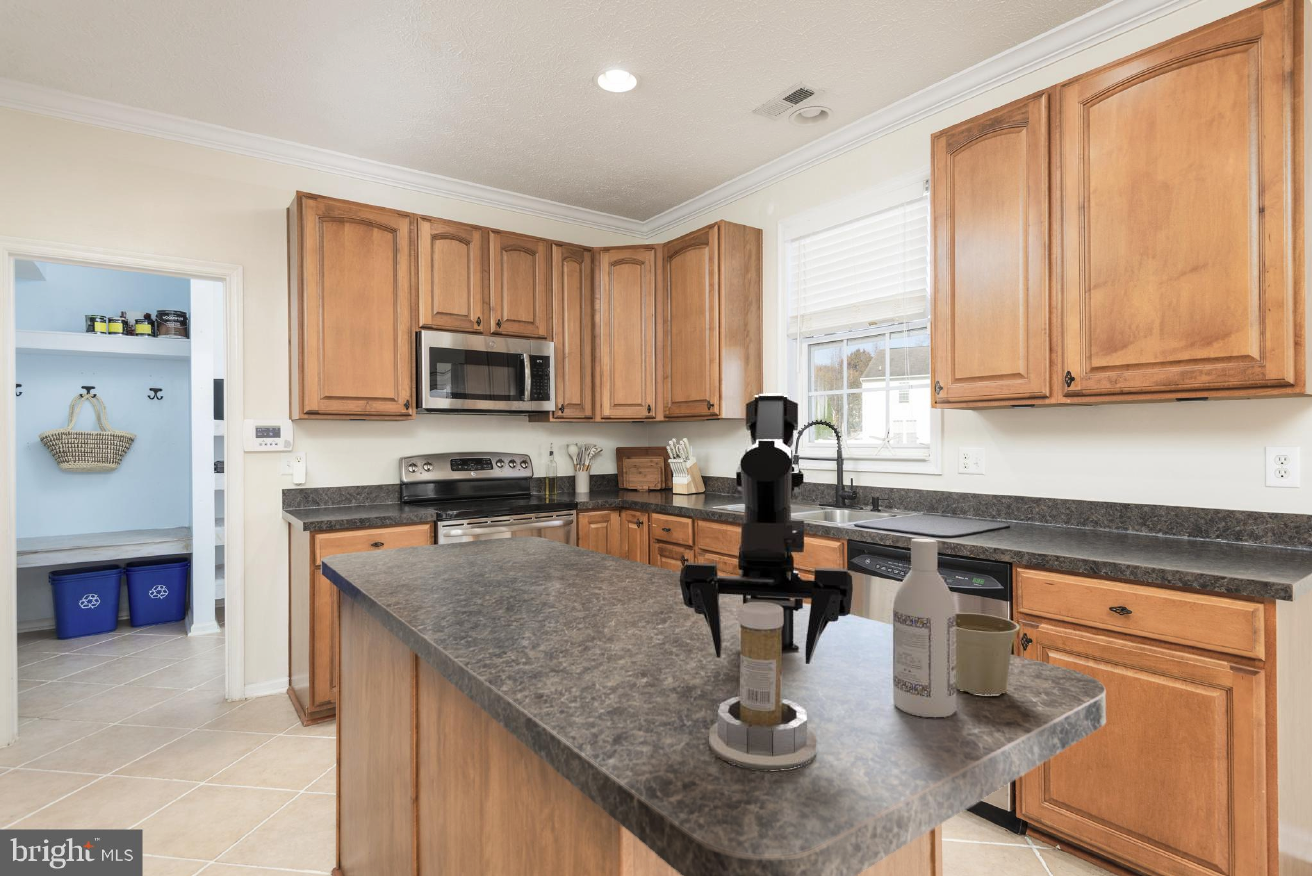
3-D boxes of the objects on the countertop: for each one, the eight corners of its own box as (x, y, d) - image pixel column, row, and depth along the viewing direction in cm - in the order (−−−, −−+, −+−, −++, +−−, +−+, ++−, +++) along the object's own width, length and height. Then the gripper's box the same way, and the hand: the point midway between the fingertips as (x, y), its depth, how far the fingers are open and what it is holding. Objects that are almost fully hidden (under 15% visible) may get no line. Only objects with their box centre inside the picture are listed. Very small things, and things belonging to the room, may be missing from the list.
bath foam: (936, 696, 83) (936, 535, 83) (968, 719, 76) (968, 544, 76) (883, 698, 82) (883, 536, 82) (910, 721, 75) (910, 544, 76)
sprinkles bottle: (789, 732, 70) (790, 604, 70) (770, 748, 66) (772, 613, 66) (750, 721, 72) (751, 598, 73) (730, 736, 69) (731, 606, 69)
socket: (783, 718, 76) (783, 687, 76) (838, 761, 66) (838, 726, 66) (693, 730, 73) (693, 698, 73) (736, 778, 62) (736, 741, 62)
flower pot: (974, 706, 80) (974, 634, 80) (922, 679, 89) (922, 615, 89) (1037, 699, 82) (1037, 629, 82) (981, 673, 91) (981, 610, 91)
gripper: (682, 492, 76) (663, 613, 65) (851, 495, 72) (861, 624, 62) (692, 550, 84) (677, 666, 73) (845, 555, 80) (853, 679, 69)
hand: (762, 659), depth 69 cm, fingers open, 9 cm apart
